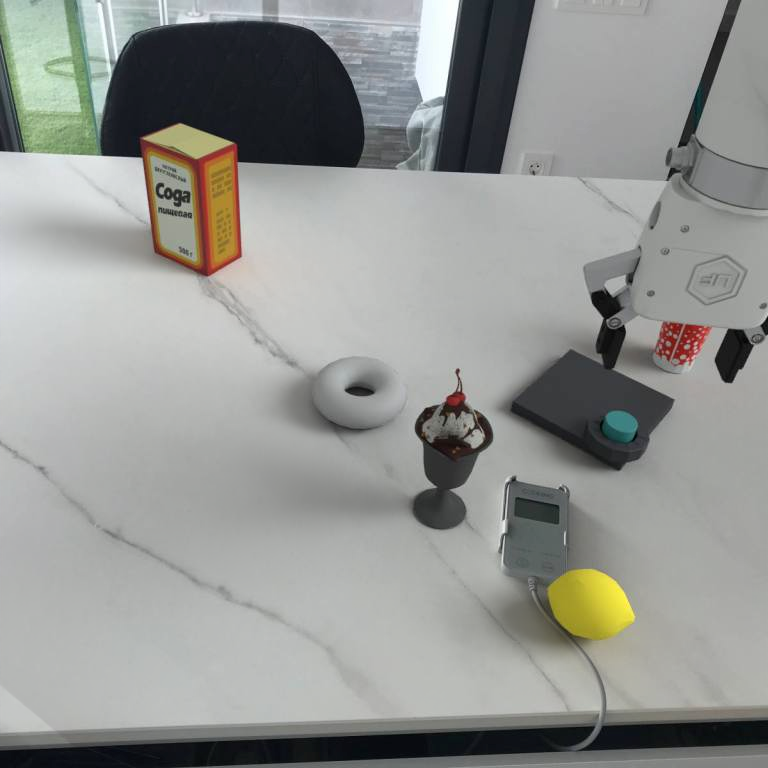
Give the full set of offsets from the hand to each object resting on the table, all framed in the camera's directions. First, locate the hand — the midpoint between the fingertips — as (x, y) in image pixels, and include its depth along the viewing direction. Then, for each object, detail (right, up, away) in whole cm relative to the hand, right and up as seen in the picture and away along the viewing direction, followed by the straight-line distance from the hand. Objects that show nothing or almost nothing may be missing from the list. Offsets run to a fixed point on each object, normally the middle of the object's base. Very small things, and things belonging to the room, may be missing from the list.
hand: (664, 366), depth 64 cm
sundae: (-18, -13, +8) cm, 24 cm away
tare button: (0, -6, +14) cm, 15 cm away
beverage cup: (+11, +1, +29) cm, 31 cm away
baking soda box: (-48, +16, +39) cm, 64 cm away
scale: (0, -4, +21) cm, 21 cm away
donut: (-26, -4, +18) cm, 32 cm away
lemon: (-7, -21, 0) cm, 22 cm away
